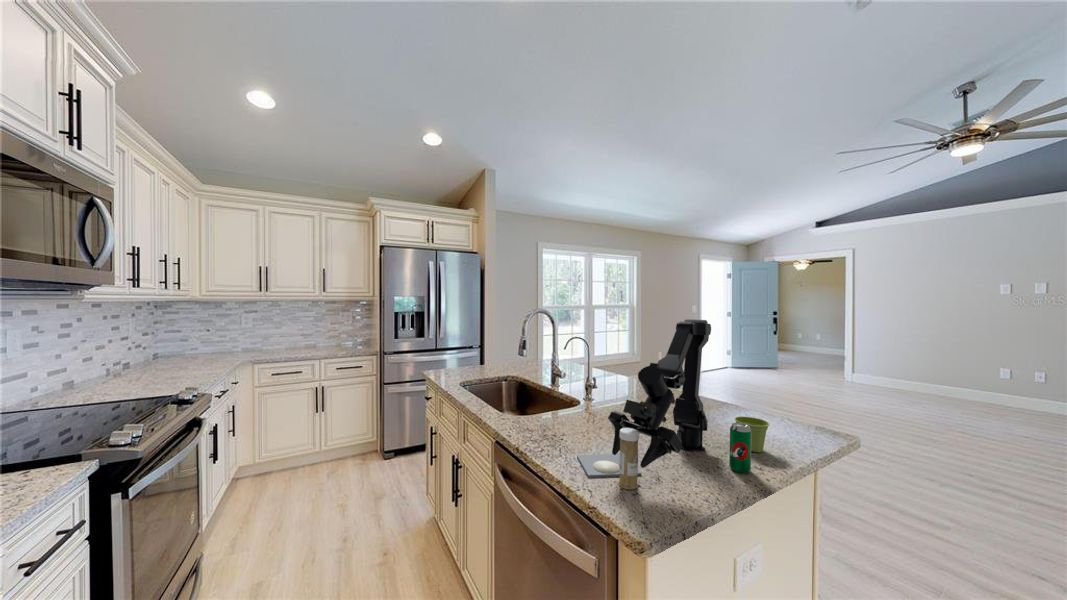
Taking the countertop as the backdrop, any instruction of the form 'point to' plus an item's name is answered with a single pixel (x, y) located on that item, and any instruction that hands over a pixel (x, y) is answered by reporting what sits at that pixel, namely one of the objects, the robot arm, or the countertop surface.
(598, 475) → the board
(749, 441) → the soda can
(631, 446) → the sprinkles bottle
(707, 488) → the countertop surface
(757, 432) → the plant pot
